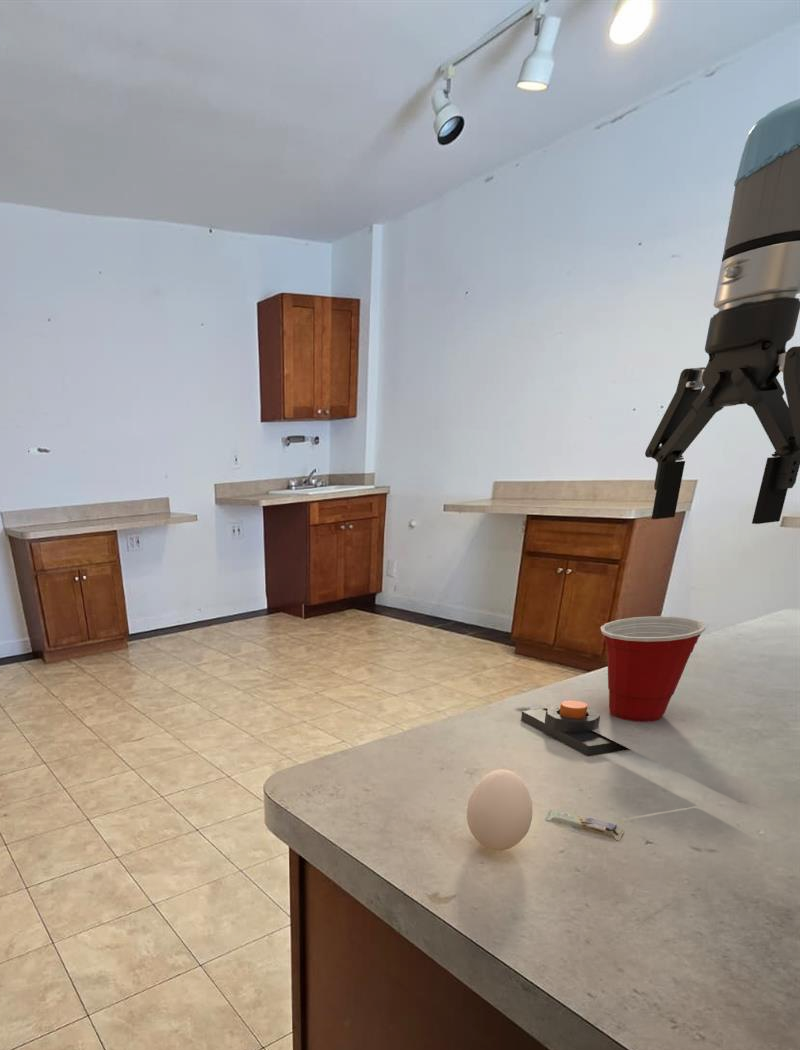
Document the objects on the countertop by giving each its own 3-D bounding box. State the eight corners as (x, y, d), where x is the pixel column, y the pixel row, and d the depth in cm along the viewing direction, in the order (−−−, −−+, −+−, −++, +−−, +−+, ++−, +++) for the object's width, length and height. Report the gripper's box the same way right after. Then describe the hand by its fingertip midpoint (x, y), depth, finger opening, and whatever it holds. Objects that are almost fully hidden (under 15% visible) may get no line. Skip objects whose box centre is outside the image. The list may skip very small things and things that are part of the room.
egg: (538, 860, 57) (551, 781, 54) (479, 866, 57) (488, 787, 54) (509, 829, 62) (519, 755, 59) (454, 835, 62) (461, 761, 59)
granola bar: (542, 824, 63) (543, 815, 63) (549, 815, 65) (551, 806, 64) (618, 845, 59) (620, 835, 59) (624, 834, 61) (626, 825, 60)
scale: (636, 704, 90) (641, 683, 89) (718, 736, 78) (724, 713, 77) (517, 721, 87) (520, 700, 86) (583, 757, 75) (587, 734, 74)
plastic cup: (575, 701, 88) (589, 615, 83) (662, 701, 86) (683, 612, 81) (600, 730, 79) (618, 634, 74) (699, 731, 76) (724, 632, 71)
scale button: (574, 710, 82) (576, 699, 82) (591, 718, 79) (593, 706, 79) (553, 713, 82) (555, 702, 81) (569, 721, 79) (571, 709, 78)
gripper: (631, 333, 77) (604, 519, 86) (856, 267, 55) (788, 528, 64) (685, 329, 78) (652, 513, 87) (927, 263, 56) (850, 520, 65)
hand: (709, 520), depth 75 cm, fingers open, 13 cm apart
